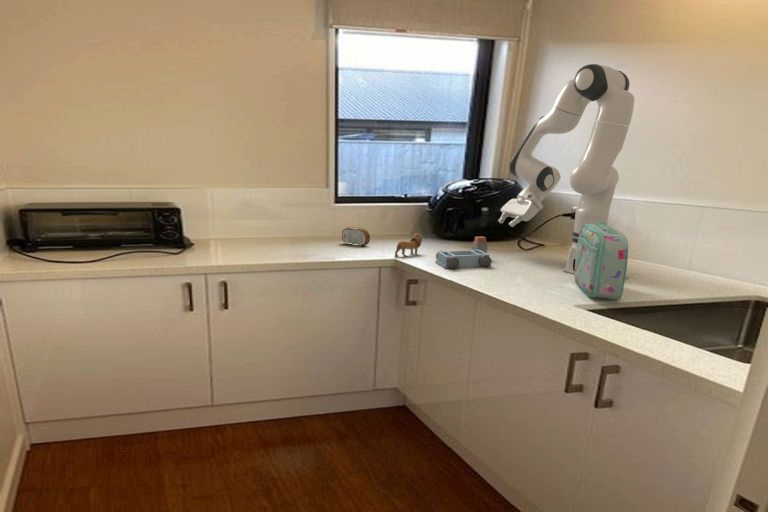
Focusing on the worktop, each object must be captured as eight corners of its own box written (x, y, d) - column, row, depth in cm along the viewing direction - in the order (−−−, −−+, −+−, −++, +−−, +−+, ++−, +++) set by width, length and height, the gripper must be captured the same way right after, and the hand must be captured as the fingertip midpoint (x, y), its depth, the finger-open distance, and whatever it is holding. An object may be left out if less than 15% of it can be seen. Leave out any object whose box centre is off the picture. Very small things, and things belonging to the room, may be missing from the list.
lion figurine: (416, 252, 210) (416, 232, 208) (424, 254, 206) (425, 233, 204) (391, 256, 200) (391, 235, 199) (399, 259, 196) (399, 237, 195)
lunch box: (569, 279, 163) (574, 217, 159) (600, 281, 162) (606, 218, 157) (588, 303, 137) (595, 230, 133) (626, 305, 136) (635, 230, 131)
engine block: (486, 259, 195) (487, 237, 194) (476, 259, 194) (477, 238, 193) (482, 257, 200) (483, 236, 198) (472, 257, 199) (473, 236, 197)
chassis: (492, 266, 182) (493, 255, 181) (446, 269, 178) (446, 257, 177) (477, 259, 195) (478, 248, 194) (433, 261, 191) (434, 250, 190)
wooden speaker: (370, 246, 224) (370, 228, 222) (366, 247, 221) (366, 229, 220) (344, 243, 232) (344, 226, 230) (340, 244, 229) (340, 227, 227)
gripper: (511, 192, 206) (489, 215, 206) (536, 196, 186) (512, 222, 186) (520, 202, 208) (498, 225, 208) (545, 207, 188) (521, 233, 188)
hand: (505, 223), depth 197 cm, fingers open, 8 cm apart
